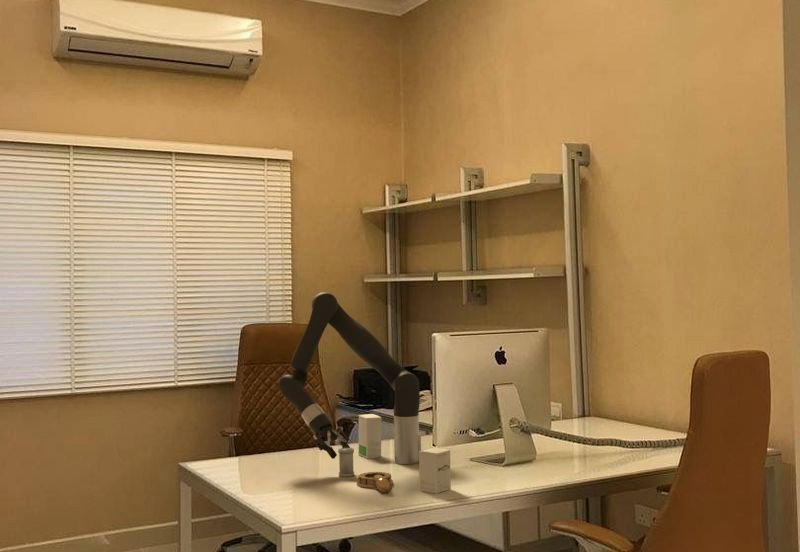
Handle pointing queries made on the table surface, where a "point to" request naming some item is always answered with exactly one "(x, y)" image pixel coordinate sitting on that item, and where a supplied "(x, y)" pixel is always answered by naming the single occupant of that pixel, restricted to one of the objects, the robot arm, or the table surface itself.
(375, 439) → the skincare box
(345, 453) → the grey flanged cylinder
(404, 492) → the table surface
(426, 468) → the supplement box
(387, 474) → the bronze ring
